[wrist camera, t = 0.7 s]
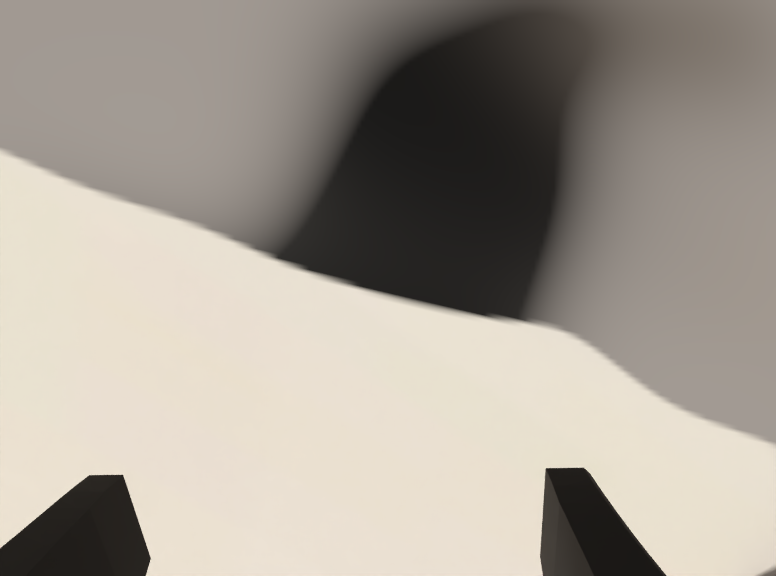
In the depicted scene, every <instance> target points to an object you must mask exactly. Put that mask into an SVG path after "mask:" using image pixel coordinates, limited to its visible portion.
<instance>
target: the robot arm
mask: <svg viewBox="0 0 776 576" xmlns="http://www.w3.org/2000/svg"><path fill="white" fill-rule="evenodd" d="M540 558H541V565H542V571H543V576H666V575H665V573H664V572H663V571H662V570H661V568H660V567H659V566H658V565H657V564H656V562H655V561H654V560H653V559H652V557H651V556H650V555H649V554H648V553H647V551H646V550H645V549H644V547H643V546H642V545H641V544H640V542H639V541H638V540H637V538H636V537H635V536H634V535H633V533H632V532H631V531H630V529H629V528H628V527H627V525H626V524H625V523H624V521H623V520H622V519H621V517H620V516H619V514H618V513H617V512H616V510H615V509H614V508H613V506H612V505H611V503H610V502H609V501H608V499H607V498H606V496H605V495H604V494H603V492H602V491H601V489H600V488H599V486H598V485H597V483H596V482H595V480H594V479H593V477H592V476H591V474H590V473H589V472H588V471H587V470H586V469H584V468H546V473H545V489H544V505H543V521H542V537H541V553H540ZM150 559H151V558H150V555H149V552H148V549H147V546H146V543H145V540H144V537H143V534H142V531H141V528H140V525H139V522H138V519H137V516H136V513H135V510H134V507H133V504H132V501H131V498H130V495H129V492H128V489H127V486H126V483H125V480H124V477H123V475H89V476H88V477H87V478H85V479H84V480H83V481H81V482H80V483H79V484H77V485H76V486H75V487H74V488H72V489H71V490H70V491H69V492H67V493H66V494H65V495H64V496H63V497H61V498H60V499H59V500H58V501H57V502H55V503H54V504H53V505H52V506H51V507H49V508H48V509H47V510H46V511H45V512H43V513H42V514H41V515H40V516H39V517H37V518H36V519H35V520H34V521H33V522H31V523H30V524H29V525H28V526H27V527H26V528H24V529H23V530H22V531H21V532H20V533H18V534H17V535H16V536H15V537H14V538H12V539H11V540H10V541H9V542H7V543H6V544H5V545H4V546H3V547H1V548H0V576H146V572H147V569H148V566H149V563H150Z"/></svg>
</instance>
